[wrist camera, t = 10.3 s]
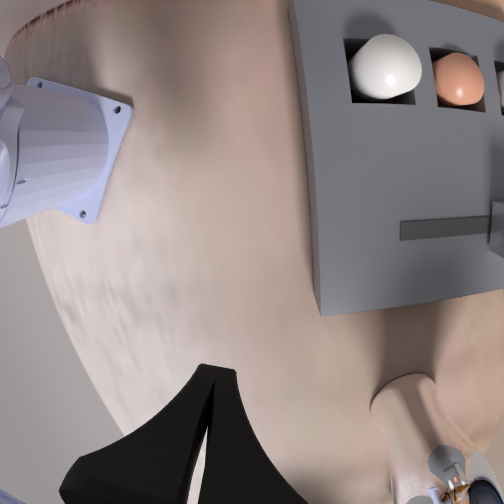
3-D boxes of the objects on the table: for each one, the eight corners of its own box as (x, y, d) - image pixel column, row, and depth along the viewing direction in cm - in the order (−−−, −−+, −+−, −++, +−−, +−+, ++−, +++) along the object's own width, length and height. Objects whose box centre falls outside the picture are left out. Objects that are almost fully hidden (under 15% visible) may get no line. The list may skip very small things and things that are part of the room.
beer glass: (349, 405, 23) (390, 570, 9) (419, 353, 22) (507, 507, 7) (388, 436, 25) (430, 569, 10) (449, 392, 23) (518, 518, 9)
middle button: (419, 106, 16) (446, 101, 13) (413, 61, 16) (438, 48, 12) (457, 110, 16) (487, 106, 13) (451, 67, 15) (479, 57, 12)
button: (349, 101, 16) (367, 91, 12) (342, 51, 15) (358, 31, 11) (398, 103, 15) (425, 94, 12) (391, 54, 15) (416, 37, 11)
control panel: (313, 293, 20) (321, 317, 18) (287, 9, 15) (291, -14, 12) (521, 266, 19) (544, 279, 16) (513, 42, 14) (538, 35, 11)
